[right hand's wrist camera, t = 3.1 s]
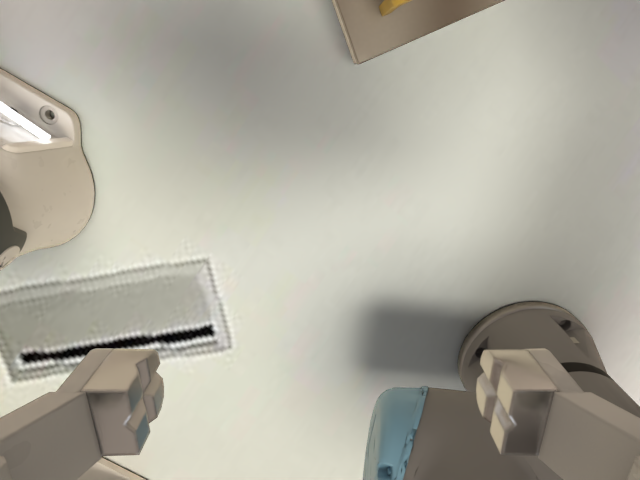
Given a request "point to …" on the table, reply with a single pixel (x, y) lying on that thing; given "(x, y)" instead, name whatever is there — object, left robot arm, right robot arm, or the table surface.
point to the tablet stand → (108, 472)
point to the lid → (399, 21)
